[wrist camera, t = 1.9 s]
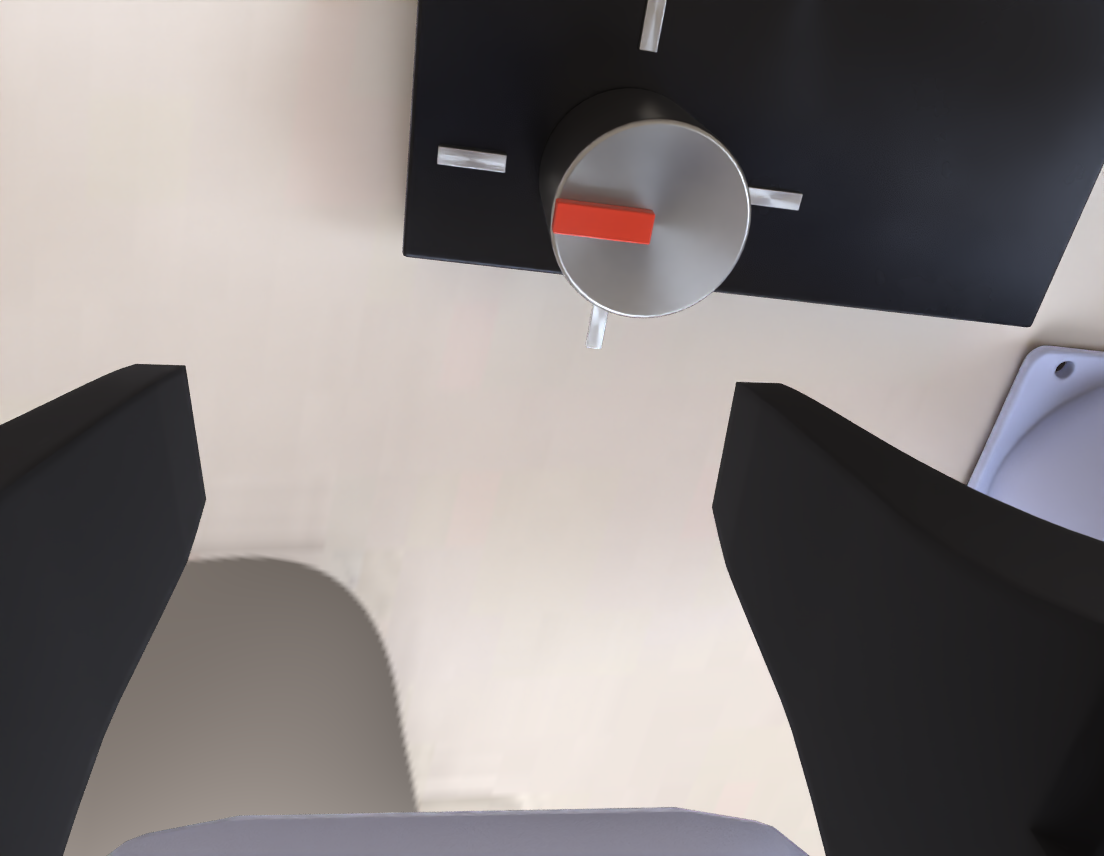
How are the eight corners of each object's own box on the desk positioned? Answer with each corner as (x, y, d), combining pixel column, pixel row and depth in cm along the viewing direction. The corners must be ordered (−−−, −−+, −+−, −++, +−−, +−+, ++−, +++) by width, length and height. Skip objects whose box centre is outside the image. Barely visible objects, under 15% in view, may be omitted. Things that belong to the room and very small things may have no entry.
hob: (1256, -349, 16) (1359, -387, 14) (966, 354, 23) (1009, 391, 21) (457, -541, 14) (454, -613, 12) (404, 293, 21) (396, 328, 19)
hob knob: (726, 100, 18) (781, 137, 14) (687, 269, 19) (729, 335, 16) (552, 75, 17) (568, 108, 14) (528, 250, 19) (538, 315, 16)
